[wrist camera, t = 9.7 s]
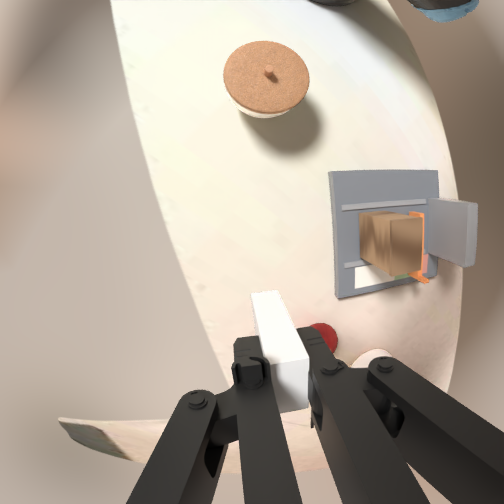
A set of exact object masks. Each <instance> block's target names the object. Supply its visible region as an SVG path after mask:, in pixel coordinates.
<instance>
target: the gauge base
mask: <svg viewBox="0 0 504 504" xmlns="http://www.w3.org/2000/svg"><path fill="white" fill-rule="evenodd" d="M328 174H329V185H330V196H331V209H332V224H333V242H334V271H335V296H336V297H337V298H343V297H348V296H353V295H358V294H363V293H367V292H372V291H376V290H381V289H385V288H389V287H394V286H398V285H402V284H406V283H410V282H414V281H418V280H417V279H415V278H413V277H411V276H409V275H408V273H406V274H402V275H397V276H393V277H391V276H389V274H388V273H386V272H385V271H383V270H381V269H380V268H378V267H376V266H374V265H373V264H371V263H369V262H367V261H366V260H364V259H362V258H360V235H359V213H364V212H374V211H390V212H395V213H400V214H405V215H409V212H412V211H414V212H419V213H424V252H423V269H422V276H424V277H426V278H430V277H433V276H437V265H438V257H439V258H442V259H444V260H447V261H449V262H452V263H454V264H456V265H459V266H461V267H463V268H465V267H469V266H472V265H474V264H475V256H476V244H477V225H478V203H473V202H467V201H460V200H453V199H446V198H439V182H438V170H354V171H332V172H328Z"/></svg>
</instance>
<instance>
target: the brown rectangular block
mask: <svg viewBox="0 0 504 504" xmlns="http://www.w3.org/2000/svg"><path fill="white" fill-rule="evenodd" d="M359 235H360V258H362V259H364V260H366V261H367V262H369V263H371V264H373V265H374V266H376V267H378V268H380V269H381V270H383V271H385V272H386V273H388V274H389V276H391V277H393V276H397V275H402V274H406V273H411V272H415V271H419V270H421V261H422V237H423V218H422V217H414V216H409V215H405V214H400V213H395V212H390V211H374V212H364V213H359Z"/></svg>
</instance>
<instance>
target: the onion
mask: <svg viewBox="0 0 504 504" xmlns="http://www.w3.org/2000/svg"><path fill="white" fill-rule="evenodd" d="M311 326H312V327H314V328H315V329H317V330H319V332H320V334H321V335H322V338H323V339H324V340H325V343H326V344H327V345H328V347H329V348H330V350H331V352H332V353H334V351H335V349H336V348H337V342H338V338H337V335H336V332H335V330H334V329H333V328H332V327H331V326H329V325H327V324H324V323H316V324H313V325H311Z"/></svg>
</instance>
